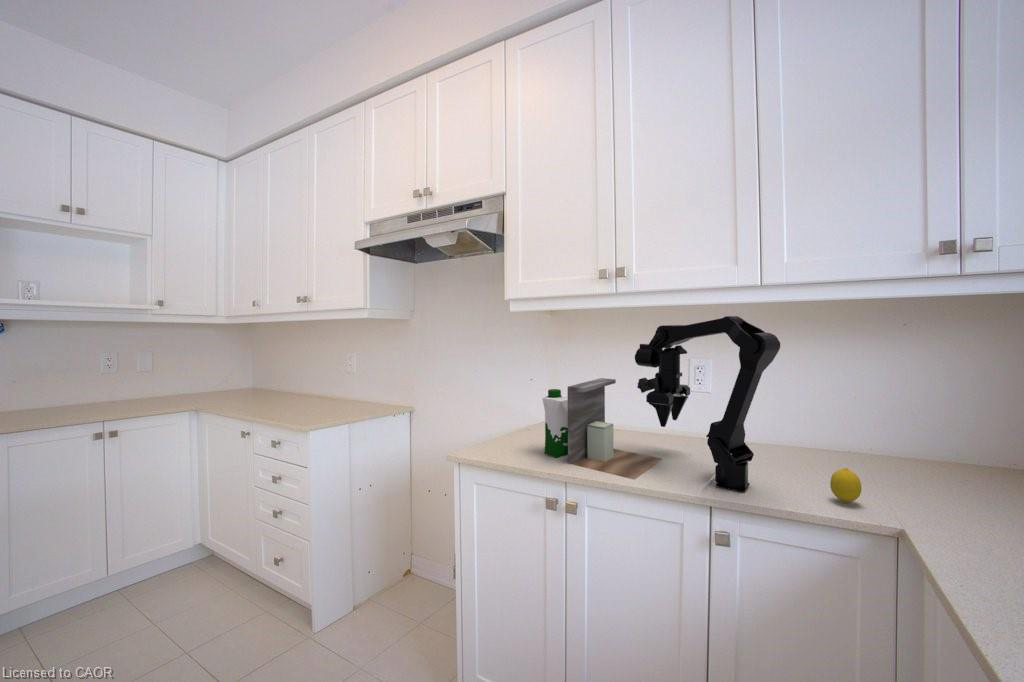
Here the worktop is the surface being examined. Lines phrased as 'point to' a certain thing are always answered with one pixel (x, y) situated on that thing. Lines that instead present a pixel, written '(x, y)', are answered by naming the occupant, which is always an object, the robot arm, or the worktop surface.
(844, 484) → the lemon
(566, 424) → the milk carton
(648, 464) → the dock
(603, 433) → the pale green lidded box
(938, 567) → the worktop surface
